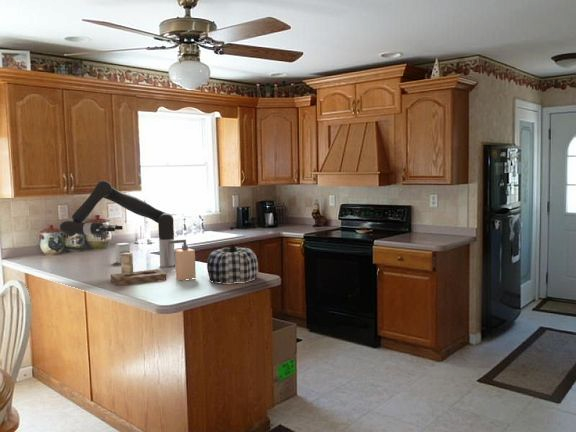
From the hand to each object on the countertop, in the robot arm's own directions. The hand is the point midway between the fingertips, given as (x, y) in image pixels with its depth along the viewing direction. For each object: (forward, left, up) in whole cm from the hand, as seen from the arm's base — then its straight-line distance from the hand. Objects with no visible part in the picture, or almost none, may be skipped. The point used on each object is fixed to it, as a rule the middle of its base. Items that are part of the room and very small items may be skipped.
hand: (118, 228), depth 303 cm
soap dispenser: (-25, +35, -27) cm, 51 cm away
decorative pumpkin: (-48, +52, -27) cm, 76 cm away
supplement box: (-12, -40, -27) cm, 50 cm away
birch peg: (+2, +24, -27) cm, 36 cm away
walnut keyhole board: (-4, +24, -27) cm, 36 cm away
